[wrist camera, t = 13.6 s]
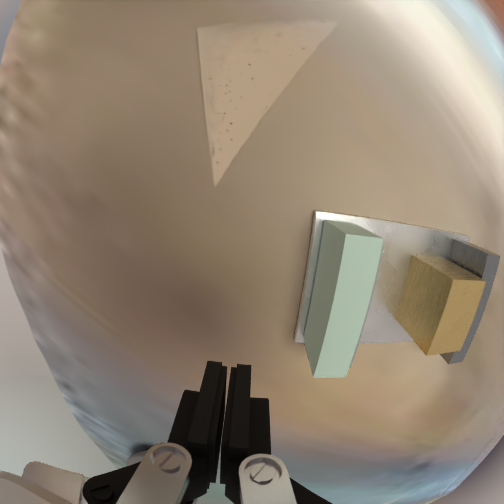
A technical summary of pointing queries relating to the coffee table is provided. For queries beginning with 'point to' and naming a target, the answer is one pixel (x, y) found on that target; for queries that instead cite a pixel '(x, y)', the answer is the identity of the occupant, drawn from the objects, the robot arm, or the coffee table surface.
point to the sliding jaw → (341, 296)
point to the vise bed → (400, 273)
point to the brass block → (438, 303)
